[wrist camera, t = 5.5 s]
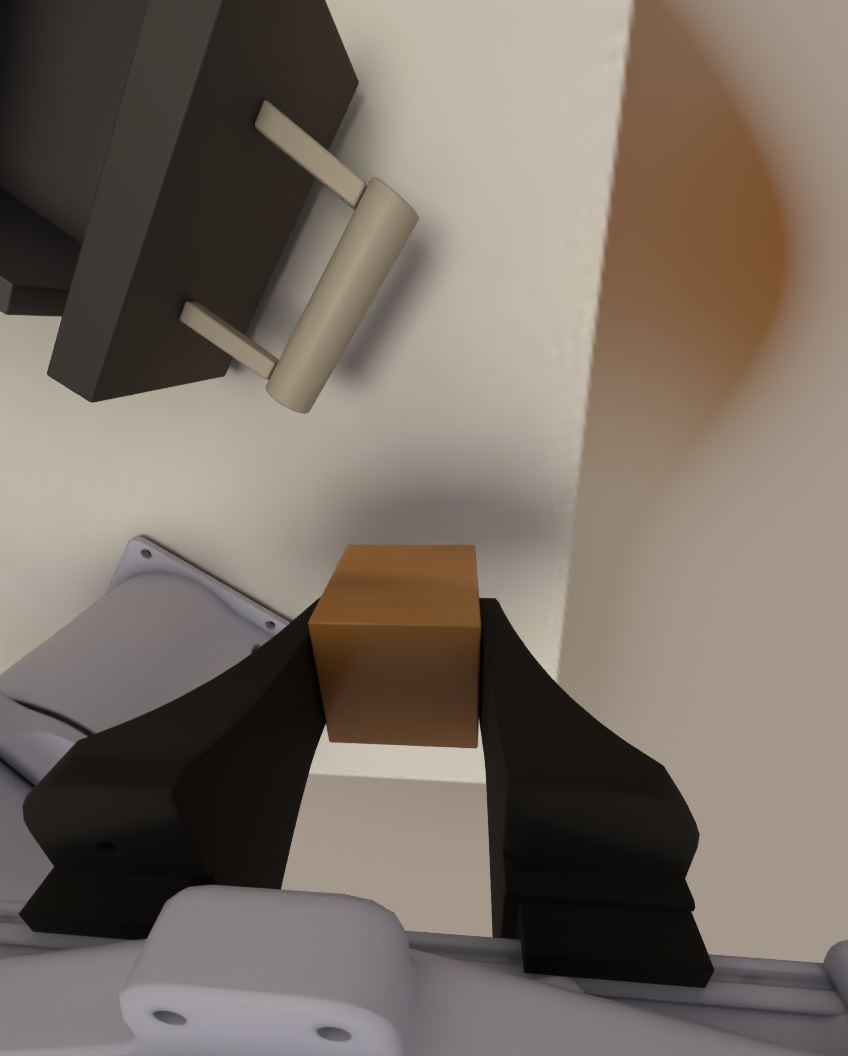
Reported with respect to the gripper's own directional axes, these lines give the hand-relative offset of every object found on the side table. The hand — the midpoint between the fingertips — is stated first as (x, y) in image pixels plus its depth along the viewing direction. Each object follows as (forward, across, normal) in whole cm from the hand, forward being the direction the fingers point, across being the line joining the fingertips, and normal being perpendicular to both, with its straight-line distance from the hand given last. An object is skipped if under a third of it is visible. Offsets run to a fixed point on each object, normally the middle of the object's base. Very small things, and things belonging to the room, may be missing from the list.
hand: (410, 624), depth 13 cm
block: (+1, 0, 0) cm, 1 cm away
